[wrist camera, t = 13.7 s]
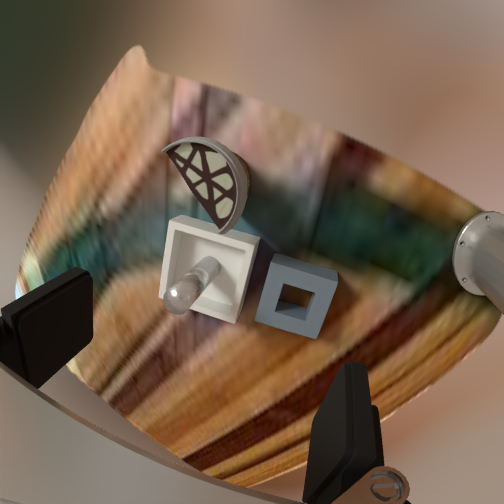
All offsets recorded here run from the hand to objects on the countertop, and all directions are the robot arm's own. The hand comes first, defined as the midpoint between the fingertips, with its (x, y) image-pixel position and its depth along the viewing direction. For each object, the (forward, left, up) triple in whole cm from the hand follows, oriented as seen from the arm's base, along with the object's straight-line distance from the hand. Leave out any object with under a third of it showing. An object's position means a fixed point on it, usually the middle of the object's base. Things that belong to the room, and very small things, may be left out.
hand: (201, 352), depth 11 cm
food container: (+9, -2, -34) cm, 36 cm away
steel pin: (+9, +12, -33) cm, 36 cm away
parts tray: (+9, +12, -34) cm, 37 cm away
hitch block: (-4, +12, -34) cm, 37 cm away
